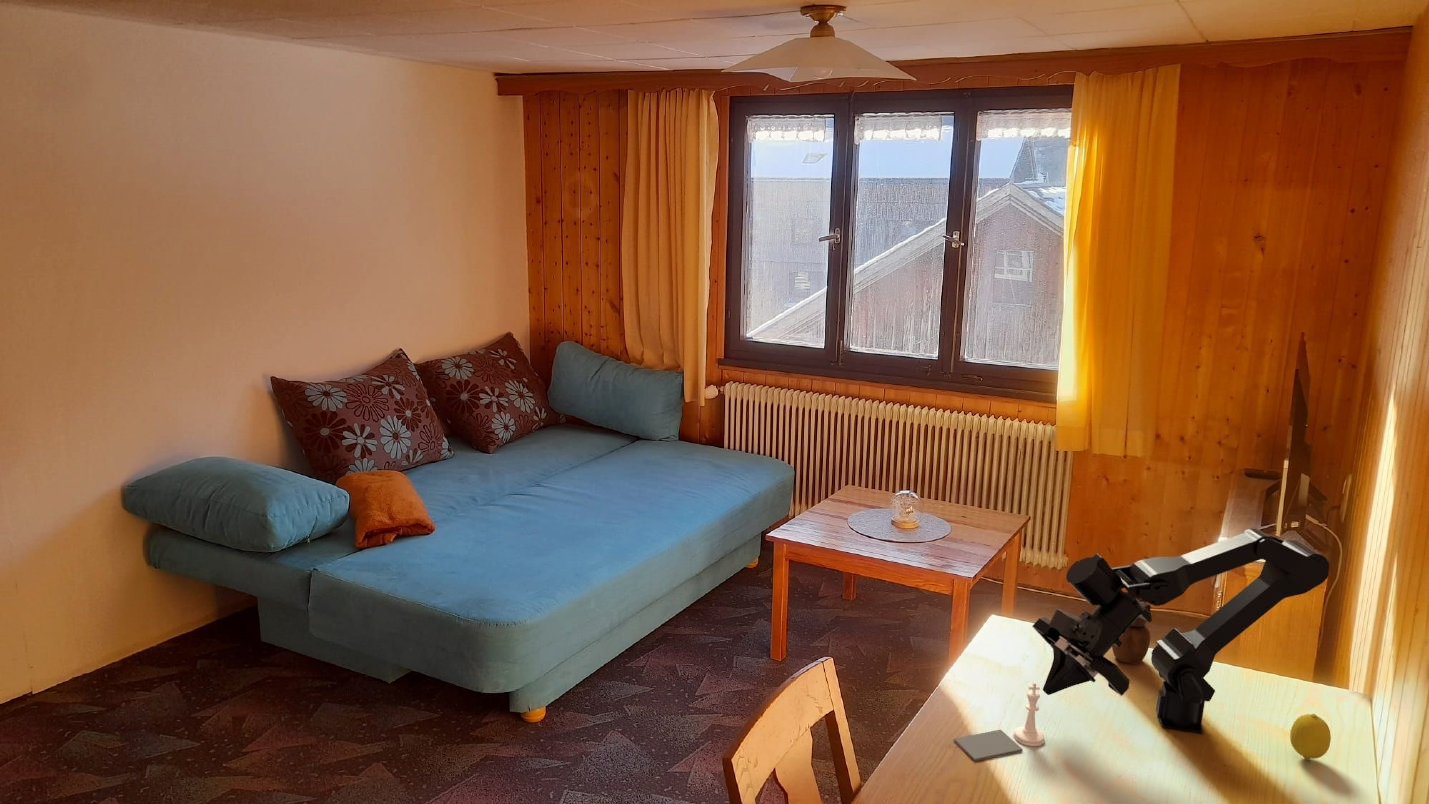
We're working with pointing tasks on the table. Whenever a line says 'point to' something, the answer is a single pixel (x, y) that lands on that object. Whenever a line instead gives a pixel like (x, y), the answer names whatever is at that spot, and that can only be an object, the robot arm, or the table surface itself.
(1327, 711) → the table surface
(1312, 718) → the lemon
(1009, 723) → the table surface
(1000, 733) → the slate mat
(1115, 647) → the wooden figurine
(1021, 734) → the chess piece
